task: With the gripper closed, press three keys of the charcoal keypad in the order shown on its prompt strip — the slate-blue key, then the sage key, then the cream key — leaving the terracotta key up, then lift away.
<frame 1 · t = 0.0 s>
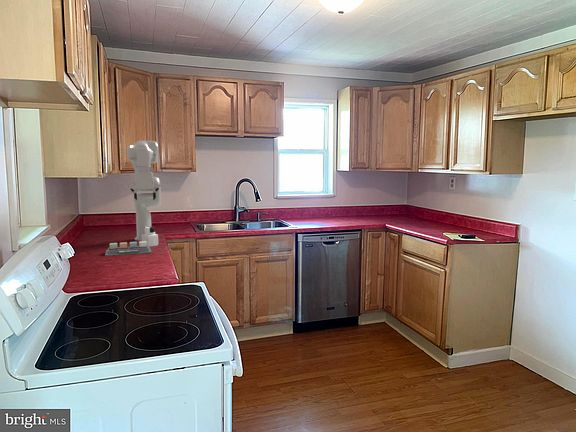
hand: (145, 199, 240), 31 cm above the counter, tool pointing down, fingers open, 9 cm apart
slate key: (133, 244, 247), point 4 cm above the counter, slide at 0.0 cm
terracotta key: (123, 245, 245), point 4 cm above the counter, slide at 0.0 cm
cream key: (142, 243, 249), point 4 cm above the counter, slide at 0.0 cm
keypad board: (128, 251, 246), on the counter
sage key: (113, 245, 243), point 4 cm above the counter, slide at 0.0 cm
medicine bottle: (150, 245, 265), on the counter
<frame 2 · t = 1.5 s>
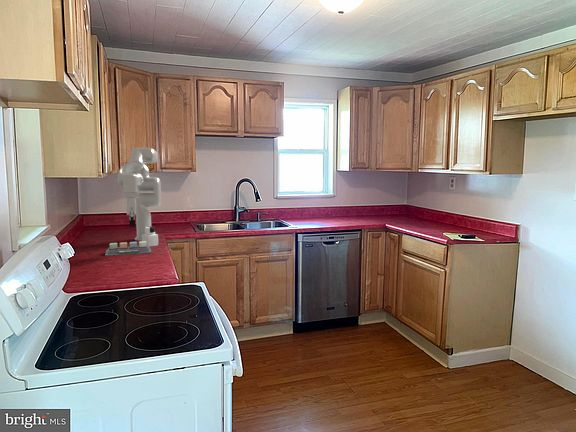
hand: (132, 226, 245), 15 cm above the counter, tool pointing down, fingers closed
nothing on the counter moved.
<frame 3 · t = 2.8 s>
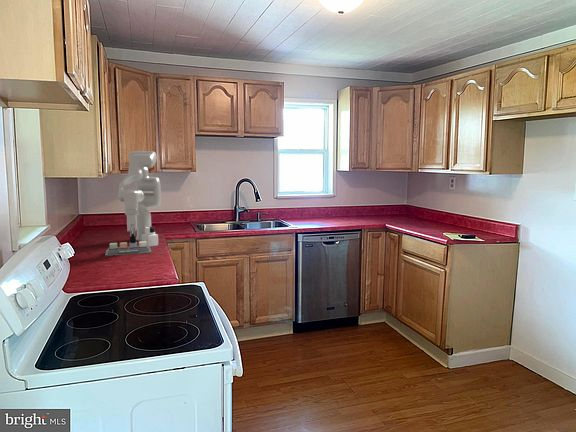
hand: (133, 242, 246), 5 cm above the counter, tool pointing down, fingers closed
slate key: (133, 244, 247), point 4 cm above the counter, slide at 0.1 cm, touching gripper
everything else where it was.
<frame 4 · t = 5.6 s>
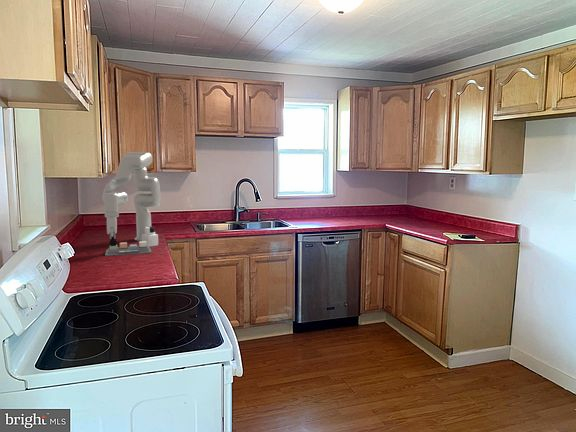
hand: (113, 245, 243), 4 cm above the counter, tool pointing down, fingers closed
slate key: (133, 247, 247), point 3 cm above the counter, slide at 1.6 cm
sage key: (113, 247, 243), point 3 cm above the counter, slide at 1.1 cm
everything else where it was.
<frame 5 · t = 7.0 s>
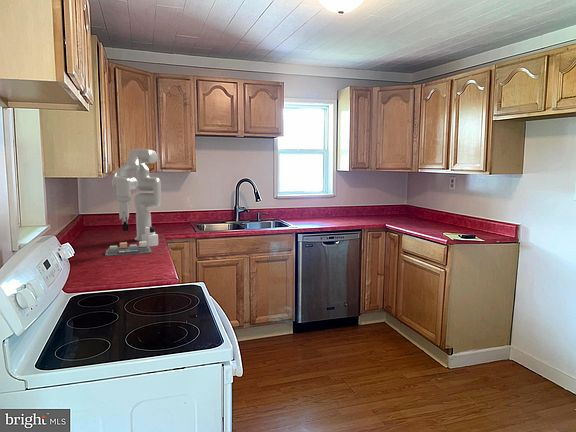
hand: (125, 230, 244), 13 cm above the counter, tool pointing down, fingers closed
sage key: (113, 248, 243), point 3 cm above the counter, slide at 1.6 cm
everything else where it was.
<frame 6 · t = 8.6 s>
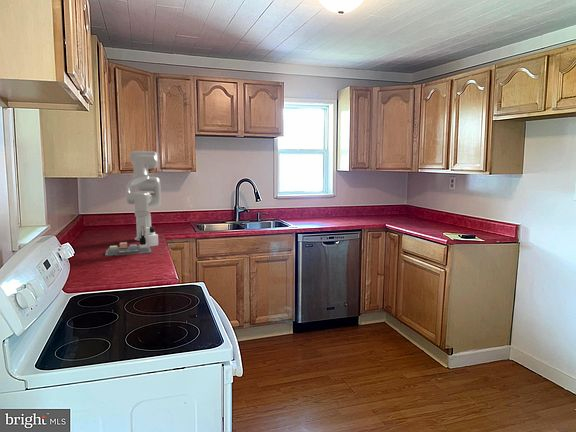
hand: (142, 244, 248), 4 cm above the counter, tool pointing down, fingers closed
cream key: (143, 246, 249), point 3 cm above the counter, slide at 1.5 cm, touching gripper
everything else where it was.
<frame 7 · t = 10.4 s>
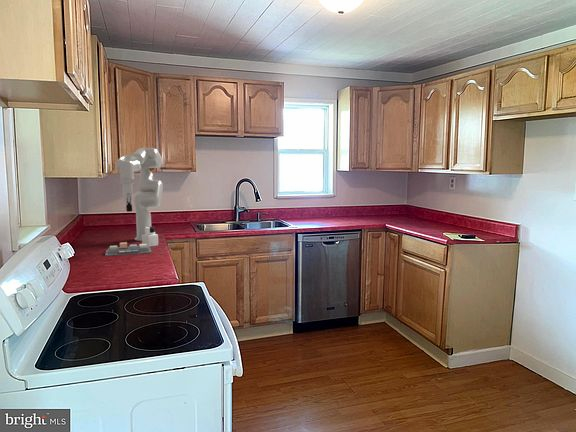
hand: (129, 211, 255), 23 cm above the counter, tool pointing down, fingers closed
cream key: (143, 246, 249), point 3 cm above the counter, slide at 1.6 cm
everything else where it was.
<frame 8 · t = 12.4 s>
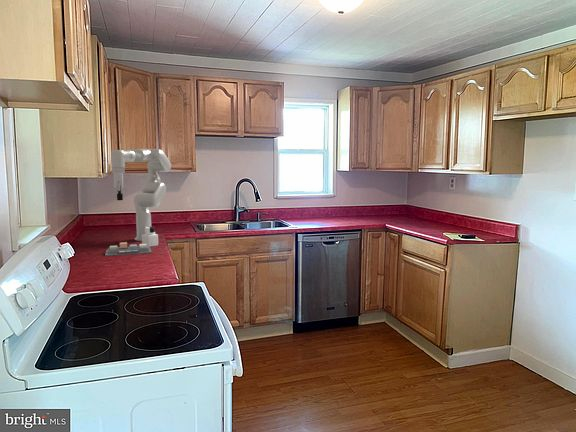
hand: (120, 200, 259), 29 cm above the counter, tool pointing down, fingers closed
nothing on the counter moved.
at the end: slate key slide at 1.6 cm; sage key slide at 1.6 cm; cream key slide at 1.6 cm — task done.
